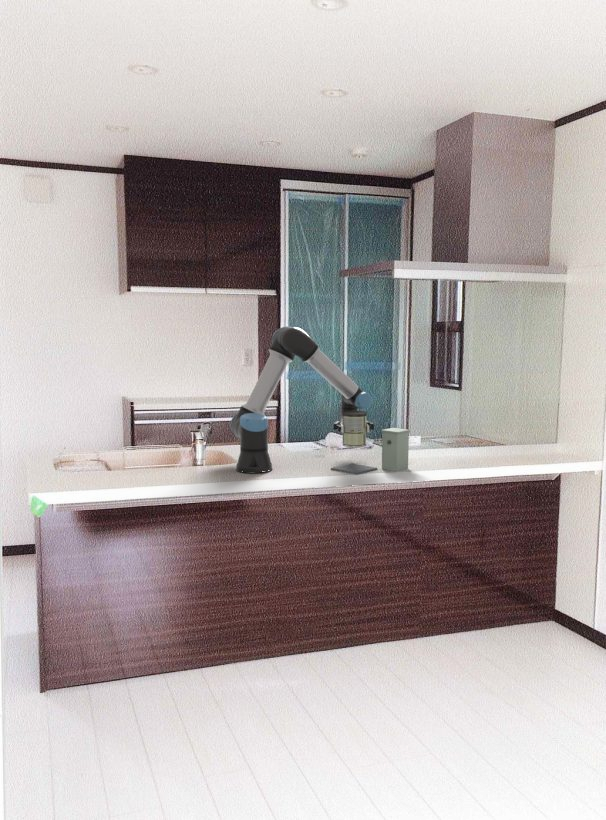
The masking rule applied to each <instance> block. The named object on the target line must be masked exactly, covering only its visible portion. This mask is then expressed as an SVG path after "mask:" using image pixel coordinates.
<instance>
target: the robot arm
mask: <svg viewBox="0 0 606 820" xmlns="http://www.w3.org/2000/svg"><path fill="white" fill-rule="evenodd" d="M268 352H269V357H268V358H267V360H266V363H265V365H264V366H263V369H262V371H261V372H260V374H259V377H258V379H257V381H256V383H255V385H254V387H253V389H252V391H251V393H250V395H249V398H248V399H247V402H246V403H244V404H242V405H241V406H240V408H239V410H238V412H237V413H236V414H234V415H233V417H232V418H231V420H230V424H229V425H230V431H231V432H232V434H233V436H234V437H235V438H237V439H239V440H240V441H239V443H240V444H239V445H240V446H239V447H240V449H239V450H240V451H239V456H238V459H237V463H236V471H237V470H238V471H237V472H239V471H243V472H262V471H268V470H271V469H272V470H273V464H272V462H271V458H270V454H269V441H268V440H269V421H268V417H267V416H266V415H265V411H266V408H267V407H268V404H269V403H270V400H271V399H272V397H273V394H274V392H275V391H276V389H277V386H278V385H279V382H280V381H281V378H282V376H283V374H284V372H285V370H286V368H287V366H288V364H290V363H292V362H293V361H294V360H295V357H296V358H298V359H300V360H301V361H302V362H303V363H307V364H309V365H310V366H311V367H312V368H313V369H314V370H315V371H316V372H317V373H318V374H320V376H321V377H323V378H324V379H325V380H326V381H327V382H328V383H329V384H330V385H331V386H333V388H335V390H337V391H338V392H339V393H340V397H341V398H340V400H341V401H340V403H341V404H340V405H341V408H340V416H339V417H340V420H336V422H334V423H333V430H337V432H338V433H339V432H340V433H341V434H343V433H344V426H343V414H342V413H343V412H345V411H359V410H367V409H369V408H370V407H371V405H372V404H373V398H372V395H371V394H370V393H368V392H366V391H364V390H363V389H362V388H361V387H360V386H358V385H357V384H356V382H355V381H353V379H351V378H350V377H349V375H347V374H346V373H345V372H344V371H343V370H342V369H340V368H339V367H338V366H337V365H336V364H335V362H333V361H332V360H331V359H330V358H329V357H328V356H327V355H326V354H325V353H324V352H323V351H321V350H320V347H319V344H318V343H317V342H316V341H315V340H314V339H313V338H312V337H311V336H310V335H308V333H307V332H306V331H305V330H303V328H300V327H295V326H283V327H281V328H278V329H277V330H275V331H274V333H273V334H272V337H271V345H270V347H269V349H268ZM366 423H367V424H366V434H367V433H368V434H369V433H370V431H371V430H375V423H373V422H371V421H368V420H366ZM272 470H271V471H272ZM243 472H242V473H243Z"/></svg>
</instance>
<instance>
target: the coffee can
mask: <svg viewBox="0 0 606 820" xmlns="http://www.w3.org/2000/svg"><path fill="white" fill-rule="evenodd" d="M342 414H343V426H344V433H342V446H343V447H346V448H364V447H366V446H367V431H366V424H367V423H366V421H368V419H367V416H368V415H367V414H368V413H367V411H362V410H358V411H345V412H343V413H342Z"/></svg>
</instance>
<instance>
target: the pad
mask: <svg viewBox="0 0 606 820" xmlns="http://www.w3.org/2000/svg"><path fill="white" fill-rule="evenodd" d="M331 469H332V470H331ZM330 470H331V471H335V470H336V471H335V472H340V471H341V473H345V472H346V474H351V475H360V474H365V473H370V472H373V471H377V470H378V467H376V466H369V465H363V464H359V463H347V464H343V465H338V466H333V467H331V468H330Z"/></svg>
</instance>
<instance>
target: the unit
mask: <svg viewBox="0 0 606 820" xmlns="http://www.w3.org/2000/svg"><path fill="white" fill-rule="evenodd" d="M380 432H381V433H382V434H381V435H382V436H381V437H382V439H381V469H383V470H387V471H392V472H400V471H405V470H408V469H409V442H410V440H409V439H410V437H409V436H410V435H409V434H410V433H411V430H410V429H406V428H400V427H399V428H398V427H391V428H384V429H381V431H380Z"/></svg>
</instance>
